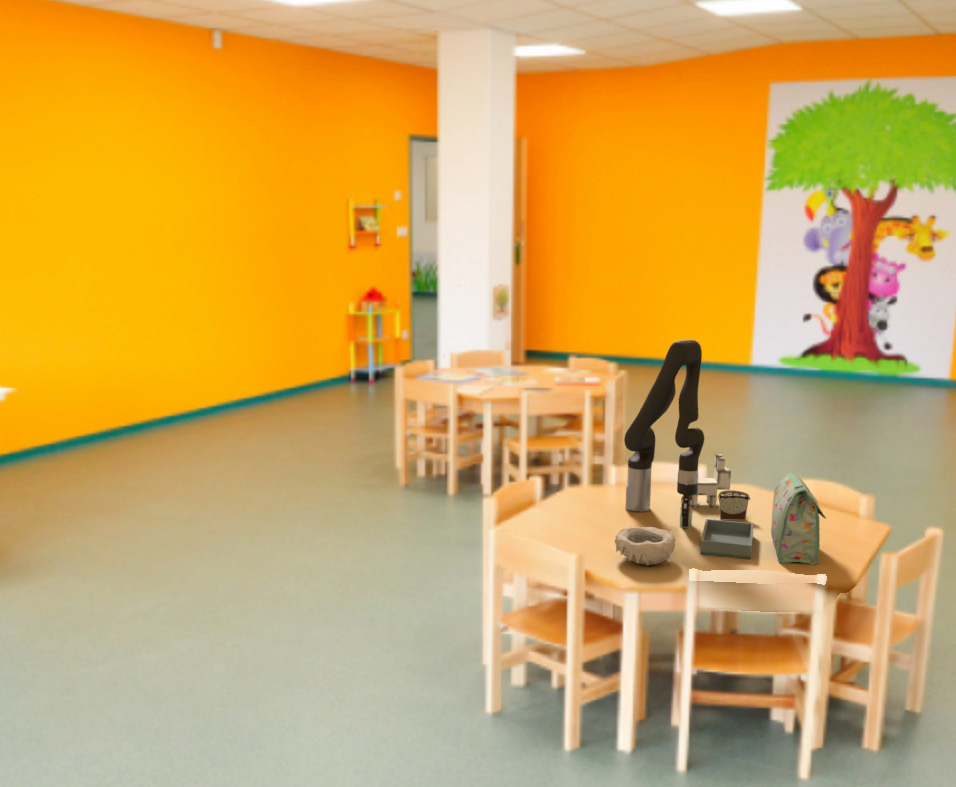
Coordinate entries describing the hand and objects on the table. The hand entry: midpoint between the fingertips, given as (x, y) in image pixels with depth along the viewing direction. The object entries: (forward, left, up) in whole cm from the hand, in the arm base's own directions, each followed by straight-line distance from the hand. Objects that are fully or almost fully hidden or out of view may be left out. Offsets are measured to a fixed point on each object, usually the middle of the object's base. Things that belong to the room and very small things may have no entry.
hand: (685, 524), depth 376 cm
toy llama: (+5, +29, -1) cm, 29 cm away
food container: (+16, +16, -1) cm, 23 cm away
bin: (+16, -16, -1) cm, 23 cm away
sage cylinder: (0, 0, -1) cm, 1 cm away
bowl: (-10, -40, -1) cm, 41 cm away
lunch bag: (+39, -17, -1) cm, 43 cm away
